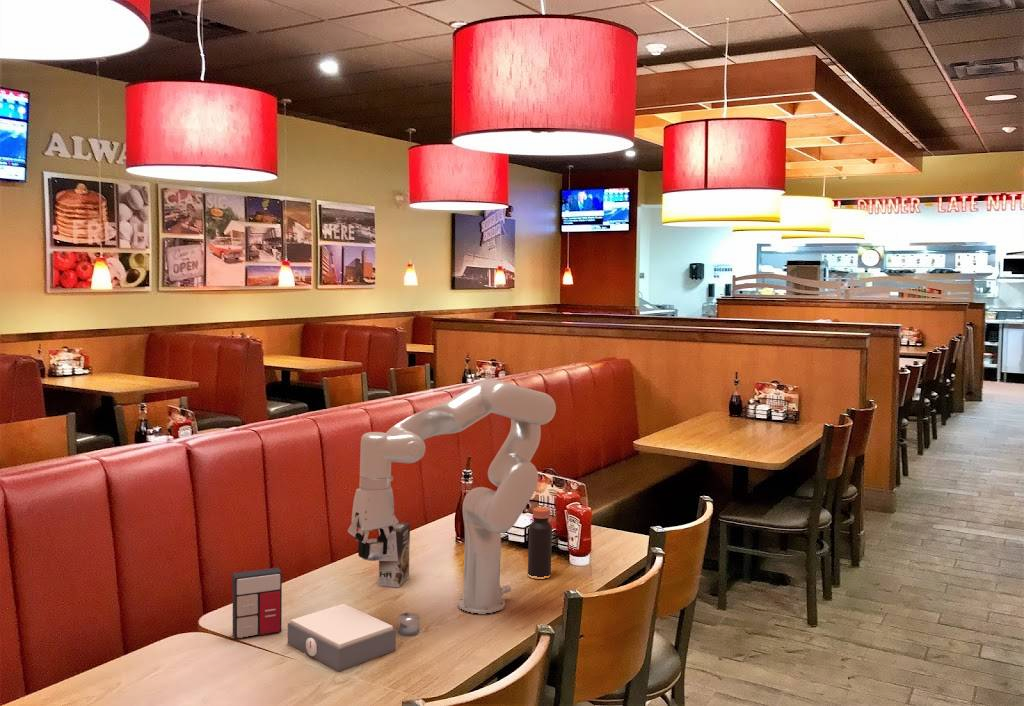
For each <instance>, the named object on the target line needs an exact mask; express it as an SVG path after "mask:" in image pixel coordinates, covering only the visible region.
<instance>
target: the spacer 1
mask: <svg viewBox="0 0 1024 706" xmlns="http://www.w3.org/2000/svg"><path fill="white" fill-rule="evenodd" d="M367 543H368V544H369V553H368V559H364V558H362V559H363V560H365V561H370V562H371V561H374V562H376V561H379V560H381V559H382V558H383V540H380V539H377V538H368V539H367Z"/></svg>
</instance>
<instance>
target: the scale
mask: <svg viewBox="0 0 1024 706" xmlns="http://www.w3.org/2000/svg"><path fill="white" fill-rule="evenodd" d="M396 630H397V629H396V628H394V626H393V625H391V624H389V623H387V622H385V621H382V620H381V619H379V618H376V617H374V616H372V615H370V614H368V613H365V612H363V611H360V610H358V609H356V608H354V607H352V606H350V605H348V604H345V603H342V604H341V603H340V604H339V605H334V606H332V607H328V608H325V609H322V610H319V611H315V612H313V613H309V614H305V615H302V616H300V617H299V616H298V617H296V618H293V619H290V622H287V645H289V644H290V645H289V646H291V647H292V646H293V647H292V648H294V647H295V649H296V650H298V651H300V652H302V653H304V654H305V655H307V656H309V657H311V658H313V659H314V660H317V662H319V663H321V664H323V665H326V666H327V667H329V668H331V669H332V670H335V671H337V672H342V671H344V670H347V669H350V668H352V667H354V666H357V665H360V664H362V663H365V662H368V661H371V660H373V659H377V658H380V657H382V656H384V655H387V654H389V653H393V652H395V651H397V648H396V647H397V646H396V645H397V631H396Z"/></svg>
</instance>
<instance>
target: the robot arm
mask: <svg viewBox="0 0 1024 706" xmlns="http://www.w3.org/2000/svg"><path fill="white" fill-rule="evenodd" d="M556 405H557V404H556V402H555V400H554V399H553V397H552V396H551V395H549V394H548V393H545V392H543V391H539V390H535V389H534V390H533V389H531V388H526V387H523V386H519V385H516V384H513V383H510V382H507V381H502V380H499V379H495V378H484V379H483V380H480V381H478V382H477V383H475V384H473V385H472V386H470V387H468V388H467V389H465V390H464V391H462V392H460V393H458V394H456V395H455V396H453V397H451V398H450V399H448V400H447V401H445V402H443V403H440V404H437V405H434V406H432V407H429V408H426V409H423V410H422V411H418V412H416V413H413V414H412V415H410V416H407V417H406V418H404V419H403V420H401V421H399V422H398V423H396V424H394V425H393V426H392V427H391V428H389V429H388V430H387V431H386V432H383V431H369V432H366V433H363V434H362V436H361V439H360V455H359V456H360V457H359V459H360V460H359V488H356V489H355V494H354V497H353V504H352V510H351V512H352V513H351V524H350V525H349V527H348V529H347V533H349V535H351V536H352V537H354V539H355V540H356V542H357V543H358V546H357V548H358V551H357V553H358V554H357V555H358V557H359V558H361V559H363V558H364V559H368V553H369V544H368V543H367V539H369V538H368V537H369V534H370V532H371V531H376V530H378V534H379V535H377V538H376V539H380V540H383V554H384V555H385V554H387V542H388V538H389V537H390V533H391V532H392V531H393V529H394V527H395V526H396V525H397V524H398V523H400V522H399V519H398V518H397V516H396V515H395V500H394V493H393V487H392V486H391V482H393V481H394V476H393V475H391V474H392V463H401V464H413V463H416V462H418V461H420V460H421V459H422V458H423V457H424V456H425V453H426V443H425V440H427V439H428V438H432V437H434V436H441V435H450V434H457V433H460V432H462V431H464V430H466V429H467V428H469V427H471V426H472V425H474V424H475V423H476V422H478V421H481V419H484V418H485V417H487V416H488V415H490V414H491V413H493V414H495V415H499V416H501V417H505V418H508V419H510V422H511V423H510V429H509V430H510V431H509V433H508V435H507V436H506V439H505V440H504V442H503V443H502V445H501V447H500V449H499V450H498V451H497V453H496V455H495V456H494V458H493V459H492V461H491V463H490V465H489V467H488V470H487V478H488V480H489V481H490V483H492V485H494V486H495V487H497V489H496V490H493V489H492V488H488V487H484V486H478V487H477V486H476V487H473V488H472V489H471V490H469V491H468V492H467V493H466V495H465V496H464V499H463V503H462V518H463V525H464V527H463V528H464V555H463V556H464V560H463V561H464V562H463V563H464V566H463V596H461V597H459V598H458V599H457V600H456V601H457V607H458V609H459V610H461V609H462V610H461V611H463V610H465V611H468V612H471V613H470V614H473V613H478V614H477V615H487V614H486V613H491V614H493V613H492V612H496V611H498V610H501V609H502V608H503V607H504V606H505V607H506V601H505V599H504V598H502V596H503V595H504V594H508V593H510V592H511V591H512V586H511V585H510V584H506V585H503V586H501V584H500V583H501V582H500V581H501V580H500V578H501V548H502V545H501V544H502V538H501V536H502V535H501V534H503V533H506V532H508V531H510V529H512V528H513V527H514V526H515V524H516V523H517V521H518V519H519V518H520V516H522V515H521V514H522V513H523V512H524V510H525V508H526V507H527V506H528V503H529V502H530V500H531V498H532V497H533V495H534V493H535V491H536V490H537V487H538V482H539V473H538V470H537V468H536V466H535V464H533V463H532V462H531V460H532V459H533V457H534V455H535V453H536V451H537V450H538V448H539V445H540V442H541V436H542V432H541V425H542V426H543V425H546V424H548V423H549V422H550V421H552V419H554V417H555V415H556V412H557V411H556V410H557V406H556ZM357 529H358V531H357ZM364 559H363V560H364ZM505 607H504V608H505ZM504 608H503V609H504ZM503 609H502V610H503ZM502 610H501V611H502ZM465 611H464V612H465ZM468 612H467V613H468ZM496 613H497V612H496Z"/></svg>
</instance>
